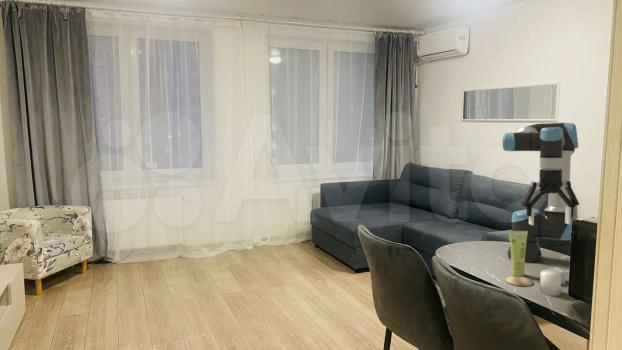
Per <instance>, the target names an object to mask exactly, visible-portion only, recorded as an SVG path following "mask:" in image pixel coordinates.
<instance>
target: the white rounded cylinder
mask: <svg viewBox="0 0 622 350" xmlns="http://www.w3.org/2000/svg"><path fill="white" fill-rule="evenodd" d="M539 279H540V280H539V281H540V282H539V283H540V285H539V289H540V290H539V292H540V293H541V295H543V296H544V295H545V296H547V297H549V296H550V297H559V296H561V292H562V291H561V289H562V287H561V286H562V284H561V273H560V272H558V271H554V270H543V269H542V270H540V277H539ZM558 295H559V296H558Z"/></svg>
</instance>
